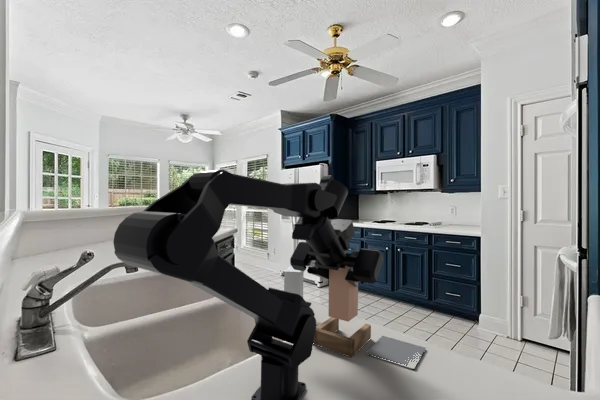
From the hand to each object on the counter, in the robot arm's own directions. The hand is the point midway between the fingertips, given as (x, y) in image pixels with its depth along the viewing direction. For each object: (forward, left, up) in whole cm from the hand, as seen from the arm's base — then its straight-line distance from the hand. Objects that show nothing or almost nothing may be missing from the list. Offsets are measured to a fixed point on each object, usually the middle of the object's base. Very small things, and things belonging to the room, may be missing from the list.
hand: (346, 283), depth 64 cm
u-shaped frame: (-1, 0, -12) cm, 12 cm away
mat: (-2, -11, -12) cm, 16 cm away
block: (-1, 0, -7) cm, 7 cm away
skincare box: (+8, +15, -12) cm, 21 cm away
